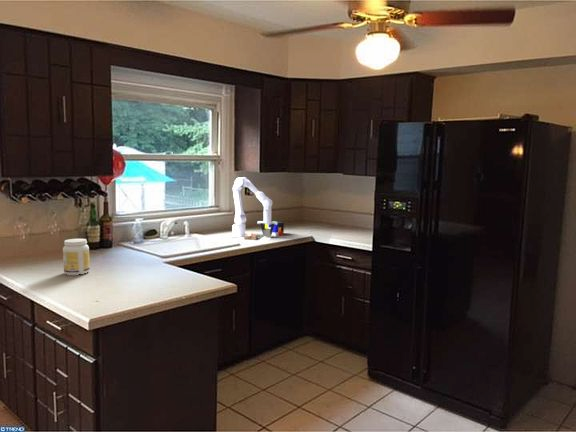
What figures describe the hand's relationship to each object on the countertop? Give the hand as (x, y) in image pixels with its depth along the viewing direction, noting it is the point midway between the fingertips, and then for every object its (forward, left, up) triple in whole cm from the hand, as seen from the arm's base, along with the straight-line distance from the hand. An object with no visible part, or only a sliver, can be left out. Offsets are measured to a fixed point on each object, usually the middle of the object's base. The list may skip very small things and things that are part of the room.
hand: (267, 234), depth 345 cm
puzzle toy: (+3, +13, -3) cm, 14 cm away
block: (0, 0, -2) cm, 2 cm away
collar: (-10, -8, -3) cm, 13 cm away
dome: (-10, -8, -3) cm, 13 cm away
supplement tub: (-76, -119, -3) cm, 141 cm away
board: (0, -7, -3) cm, 7 cm away
